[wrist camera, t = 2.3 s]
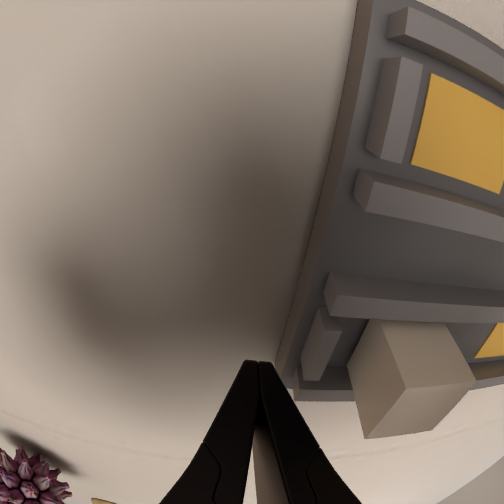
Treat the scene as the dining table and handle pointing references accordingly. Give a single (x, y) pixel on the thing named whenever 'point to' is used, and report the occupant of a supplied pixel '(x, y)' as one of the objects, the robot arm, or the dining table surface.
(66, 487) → the flower
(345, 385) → the switch bank
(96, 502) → the hand bell
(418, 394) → the tab
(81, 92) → the dining table surface
